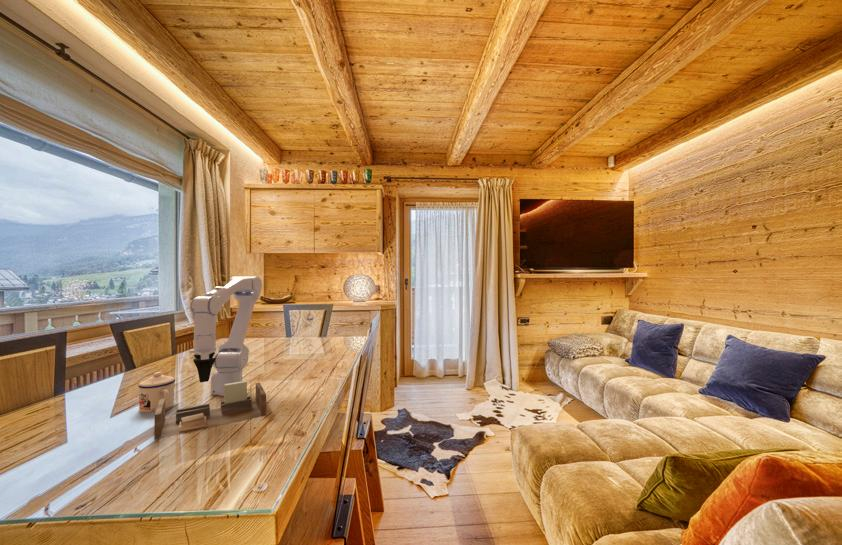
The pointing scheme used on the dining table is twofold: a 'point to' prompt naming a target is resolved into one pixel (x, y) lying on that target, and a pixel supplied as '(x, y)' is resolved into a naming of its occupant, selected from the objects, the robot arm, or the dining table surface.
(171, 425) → the rack
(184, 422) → the offcut upper
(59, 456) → the dining table surface
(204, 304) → the robot arm
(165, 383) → the teacup with lid
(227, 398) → the beige flat block
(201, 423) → the offcut lower
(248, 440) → the dining table surface
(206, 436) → the dining table surface
